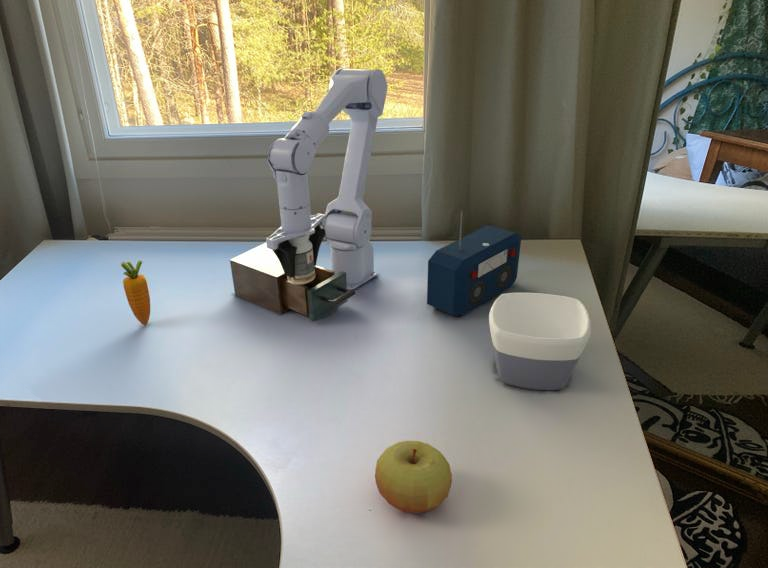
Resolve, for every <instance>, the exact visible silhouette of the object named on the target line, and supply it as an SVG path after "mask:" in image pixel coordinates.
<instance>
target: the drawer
mask: <svg viewBox="0 0 768 568" xmlns="http://www.w3.org/2000/svg"><path fill="white" fill-rule="evenodd" d="M280 284H281V293H282V303H283V306H285V307H287V308H289V310H292V311H294V312H297V313H300V314H302V315H304V316H308V317H309V321H310V322H313V323H315V322H317V321H319V320H320V319H322V318H323V317H324V316H327V315H329V313H331V312H332V311H334V310H336V309H338V308H339V307H341V306H343V305H344V304H345V303H348V300H349V299H351V298H353V297H354V296H356V294H357V292H356V289H351V290H347V282H346V272H344V271H341V272H339V273H337V274H335V272H334V271H332V269H329V268H326V267H322V266H320V265H317V264H316V265H315V278H314V280H312V281H311V282H309V283H306V284H293V283H291V282H289V281H288V279H287V276H285V277H283V278H282V279H280Z"/></svg>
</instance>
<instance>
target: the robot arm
mask: <svg viewBox="0 0 768 568" xmlns="http://www.w3.org/2000/svg"><path fill="white" fill-rule="evenodd" d="M385 75H386V74H385V73H384V72H383V70H382V69H380V68H376V69H356V68H355V69H354V68H353V69H352V68H345V67H340V68H337V69H336V70H335V71H334V73H333V75H332V76H331V77H330V79H329V90H328V91H327V92H326V94H325V95H324V97H322V100H321V101H320V102H319V104H318V106H317V107H316V108H315V110H309V111H305V112H303V113H302V114H301V117H300V118H299V120H298V121H297V122H296V123H295V124H294V126H293V127H292V128H291V129H290V130H289V132H288V133H287V134H286V135H285V136H284V137H283V138H277V139H276V140H275V141H273V142H272V143H271V145H270V146H269V149H268V156H267V158H266V160H267V161H266V162H267V164H268V167H269V169H270V170H271V171H272V176H273V179H274V181H276V187H277V196H278V204H279V205H278V207H279V214H280V227H278V228H277V229H276V230H275V231H274V232H273V233H272V234H271V235H270V236H267V237H265V243H266V244H267V248H269V249H272V250H273V252H274V253H275V254H276V256H277V258H278V259H279V261H280V263H281V266H282V268H283V271H284V273H285V275H286V276H289V277H291V278H292V277H294V276H295V255H296V251H297V247H295V246H292V245H291V243H289V241H290V239H292V238H296V237H300V236H303V235H307V236H309V239H308V240H309V241H310V242H311V243H312V246H313V255H314V265H317V261H318V256H319V251H320V248H321V246H322V245H321V244H322V242H323V240H326V244H327V245H329V247H330V261H331V263H330V264H331V270H332V271H334V272H335V274H337V273H339V272H341V271H344V272H346V282H347V290H351V289H354V290H356V289H357V288H359V287H360V286H361V285H363V284H365V283H366V282H368V281H370V280H371V279H373V278H375V277H376V276H378V273H377V272H375V270H374V269H375V263H374V262H375V261H374V258H375V257H374V246H373V244H372V242H371V240H370V239H371V237H372V232H373V225H372V223H373V222H372V219H373V211H372V210H371V209H370V208H369V206H368V205H367V204H366V202H365V201H364V194H365V189H366V184H367V178H368V174H369V173H368V172H369V167H370V162H371V157H372V153H373V146H374V140H375V135H376V130H377V125H378V124H377V123H378V119H379V118H380V117H381V116H382V115H383V114H384V108H385V104H386V99H387V94H388V86H389V85H388V82H387V78H386V76H385ZM342 111H343V113H344V114H346V115H347V116H349V118H350V120H351V123H350V124H351V125H350V129H349V135H348V141H347V146H346V152H345V156H344V157H345V158H344V163H343V169H342V174H341V180H340V185H339V192H338V196H337V198H335V199H334V200H332V201H330V202H329V203H328V204H327V205H326V210H325V212H324V214H322V213H316V214H313V215H312V213H311V200H310V189H309V188H310V187H309V186H310V185H309V176H308V171H310V170H311V167H312V166H313V162H314V158H315V156H316V153H317V149H318V148H319V146H320V145H321V144H322V143H323V142H324V141H325V139H326V138H327V137H328V135H329V133H330V125H329V124H330V123H331V122H332V121H333V120H334V119H335V118H336V117H337V116H338V115H339V114H340V113H341V112H342ZM344 212H348V213H344ZM351 213H353V214H351Z"/></svg>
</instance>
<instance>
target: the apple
mask: <svg viewBox="0 0 768 568" xmlns="http://www.w3.org/2000/svg"><path fill="white" fill-rule="evenodd" d="M452 475H453V474H452V470H451V465H450V463H449V461H448V460H447V458H446V457H445V456H444V455H443V453H442V452H441V451H440V450H438V449H437V448H436V447H434V446H432V445H431V444H429V443H428V442H427V443H426V442H423V441H420V440H403V441H398V442H396V443H394V444H392V445H390V446H388V447H387V448H385V450H384V451H383V452H382V453H381V454H380V456H379V457H378V458H377V460H376V466H375V471H374V479H375V484H376V487H377V490H378V493H379V494H380V495H381V497H382V498H383V499H384V500H385V501H386V502H387V503H388V504H389V505H390V506H392V507H393V508H396V509H398V510H400V511H401V512H404V513H405V512H406V513H410V514H421V513H426V512H428V511H431V510H434V509H436V508H438V506H440V504H442V503H443V502H444V501H445V500H446V498H448V496H449V493H450V490H451V487H452V482H453V479H452V478H453V476H452Z"/></svg>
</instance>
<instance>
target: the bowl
mask: <svg viewBox="0 0 768 568" xmlns="http://www.w3.org/2000/svg"><path fill="white" fill-rule="evenodd" d="M488 324H489V329H490V330H489V331H490V337H491V341H492V348H493V354H494V360H495V367H496V372H497V376H498V378H499V380H500V381H501V382H502V383H503V384H506V385H509V386H514V387H518V388H522V389H527V390H537V391H557V390H563V389H564V388H566V386H567V384H568V381H570V377H571V376H572V374H573V372H574V369H575V367H576V365H577V363H578V361H579V360H580V357H581V356H582V354H583V352H584V349H585V348H586V346H587V343H588V341H589V339H590V338H591V333H592V321H591V319H590V315H589V312H588V310H587V308H586V306H585V305H584V304H583V302H582V301H580V299H578V298H574V297H570V296H565V295H559V294H552V293H541V292H508V293H507V292H505V293H502V294H500V295H499V296H498V297H497V298H496V299H495V300H494V301H493V304H492V305H491V308H490V310H489V314H488Z"/></svg>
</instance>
